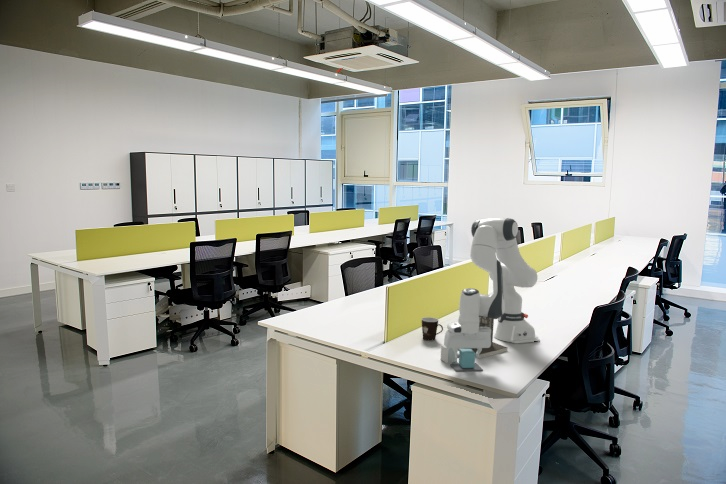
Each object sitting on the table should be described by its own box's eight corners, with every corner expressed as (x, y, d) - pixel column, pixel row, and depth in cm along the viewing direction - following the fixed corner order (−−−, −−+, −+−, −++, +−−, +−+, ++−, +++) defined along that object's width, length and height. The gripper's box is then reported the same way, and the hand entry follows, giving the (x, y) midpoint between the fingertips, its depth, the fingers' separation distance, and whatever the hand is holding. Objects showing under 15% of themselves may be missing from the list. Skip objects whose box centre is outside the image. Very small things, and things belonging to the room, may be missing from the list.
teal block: (470, 363, 217) (470, 348, 216) (474, 367, 212) (475, 352, 211) (458, 363, 216) (459, 349, 215) (462, 368, 211) (463, 353, 210)
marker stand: (476, 364, 219) (476, 348, 218) (482, 370, 211) (483, 355, 210) (450, 364, 217) (450, 349, 216) (455, 371, 209) (456, 355, 208)
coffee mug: (417, 336, 256) (418, 317, 254) (432, 335, 259) (433, 316, 257) (428, 343, 245) (429, 324, 244) (443, 342, 248) (444, 322, 247)
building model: (478, 340, 253) (480, 306, 251) (509, 352, 236) (512, 316, 234) (450, 346, 242) (451, 311, 240) (480, 359, 225) (483, 321, 223)
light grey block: (449, 357, 226) (450, 343, 225) (456, 361, 221) (457, 347, 220) (440, 359, 223) (441, 345, 222) (447, 363, 219) (448, 349, 218)
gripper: (488, 324, 216) (486, 354, 218) (443, 324, 214) (442, 355, 215) (494, 328, 210) (492, 359, 212) (448, 329, 207) (446, 360, 209)
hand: (466, 357), depth 214 cm, fingers open, 7 cm apart
